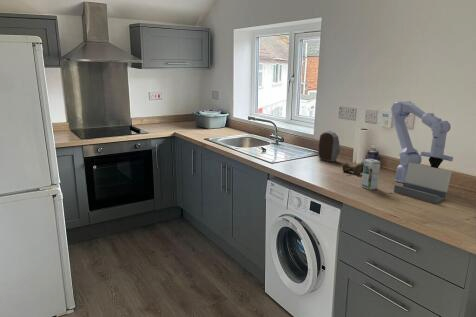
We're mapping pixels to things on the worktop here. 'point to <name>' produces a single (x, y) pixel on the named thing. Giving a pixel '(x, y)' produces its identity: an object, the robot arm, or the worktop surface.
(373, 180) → the syrup box
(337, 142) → the grey rounded bag
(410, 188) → the cable duct
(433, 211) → the worktop surface
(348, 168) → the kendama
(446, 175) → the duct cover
